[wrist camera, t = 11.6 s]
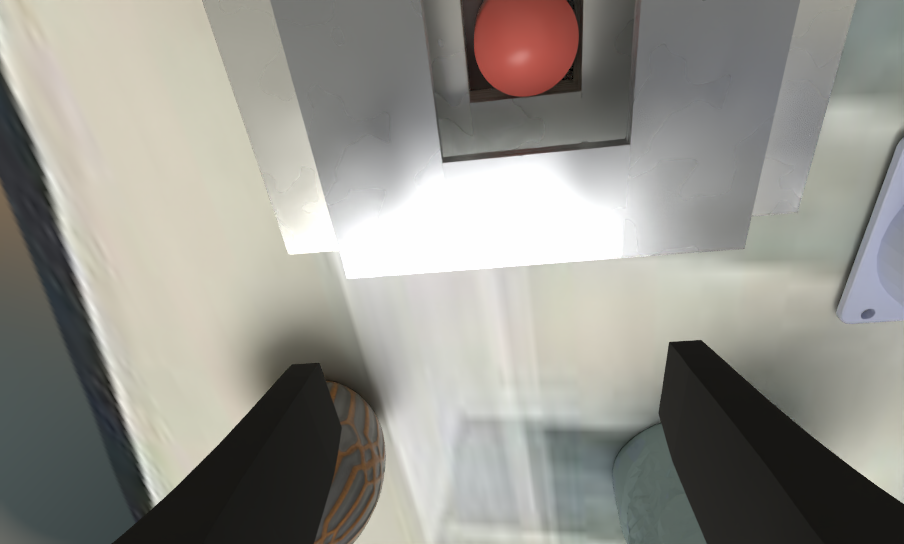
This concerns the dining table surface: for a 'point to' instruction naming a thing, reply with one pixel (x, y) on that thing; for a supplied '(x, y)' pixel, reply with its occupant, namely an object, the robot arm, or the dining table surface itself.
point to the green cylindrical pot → (652, 493)
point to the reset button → (525, 44)
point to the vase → (353, 469)
